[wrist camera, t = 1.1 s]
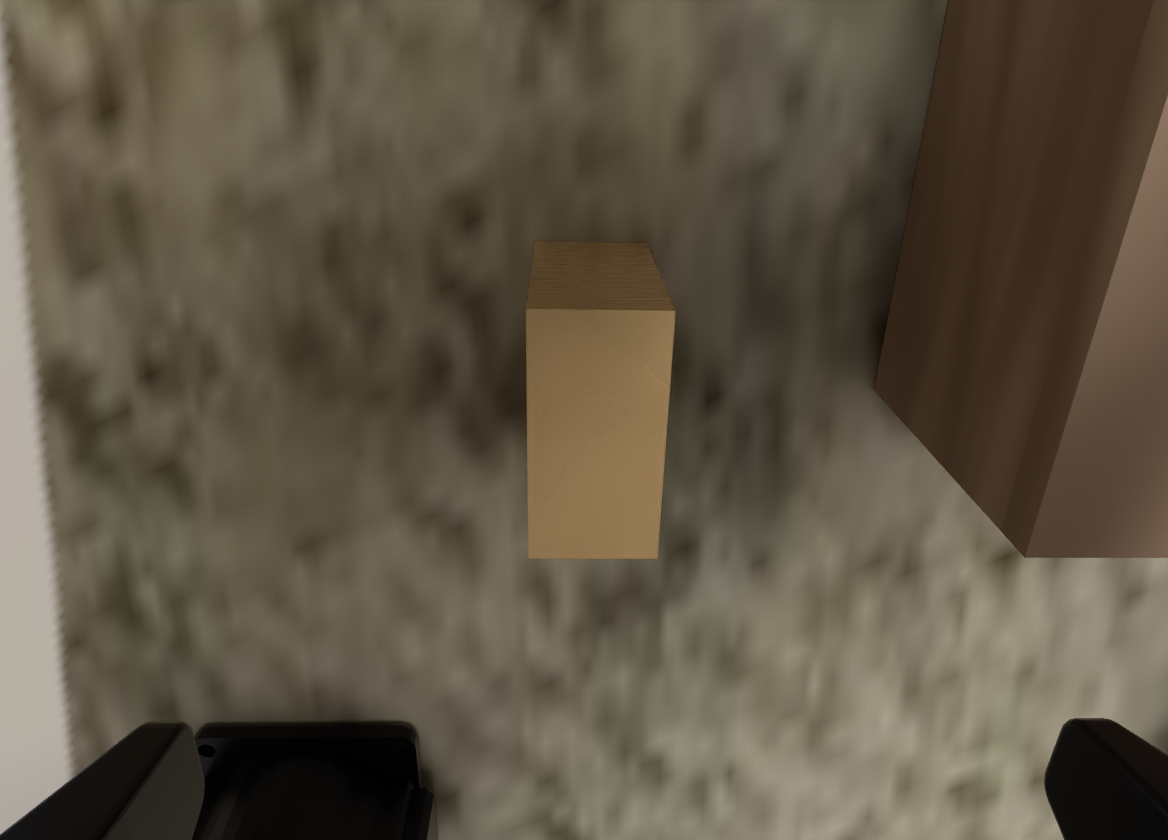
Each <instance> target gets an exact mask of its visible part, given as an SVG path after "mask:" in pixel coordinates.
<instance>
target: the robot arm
mask: <svg viewBox="0 0 1168 840" xmlns="http://www.w3.org/2000/svg"><path fill="white" fill-rule="evenodd" d="M396 743H401V744H404V745H398V744H396ZM209 745H211V746H209ZM1044 783H1045V791H1046V795H1047V798H1048V801H1049V804H1050V806H1051V809H1052V811H1053V813H1054V816H1055V818H1056V821H1057V823H1058V826H1059V828H1060V830H1061V833H1062V835H1063V838H1064V840H1168V755H1167V754H1165V753H1163V752H1162V751H1160V750H1159V749H1157V748H1156V747H1154V746H1152V745H1151V744H1149V743H1148V742H1146V741H1145V740H1143V739H1142V738H1140V737H1138V736H1137V735H1135V734H1134V733H1132V732H1131V731H1129V730H1127V729H1126V728H1124V727H1123V726H1121V725H1120V724H1118V723H1116V722H1114V721H1112V720H1109V719H1104V718H1074V719H1070V720H1068V721H1067V722H1066V723H1065V724H1064V725H1063V727H1062V729H1061V731H1060V734H1059V737H1058V739H1057V742H1056V745H1055V747H1054V750H1053V753H1052V755H1051V758H1050V761H1049V763H1048V766H1047V768H1046V772H1045V779H1044ZM0 840H438V830H437V818H436V806H435V794H434V793H433V792H432V791H431V789H430V788H429V787H423V786H422V775H421V764H420V753H419V742H418V737H417V734H416V733H415V732H414V731H413V730H412V729H410V728H407V727H402V726H353V727H209V728H203V729H201V730H199V731H198V732H197V733H196V735H195V737H194V734H193V731H192V729H191V727H190V726H189V725H188V724H187V723H184V722H148V723H145V724H143V725H141V726H139V727H138V728H136V729H135V730H133V731H132V732H131V733H130V734H128V735H127V736H126V737H125V738H123V739H122V740H121V741H119V742H118V743H117V744H116V745H114V746H113V747H112V748H110V749H109V750H108V751H107V752H105V753H104V754H103V755H101V756H100V757H99V758H98V759H96V760H95V761H94V762H93V763H91V764H90V765H89V766H87V767H86V768H85V769H84V770H82V771H81V772H80V773H78V774H77V775H76V776H75V777H73V778H72V779H71V780H69V781H68V782H67V783H66V784H64V785H63V786H62V787H61V788H59V789H58V790H57V791H55V792H54V793H53V794H52V795H50V796H49V797H48V798H46V799H45V800H44V801H43V802H41V803H40V804H39V805H37V806H36V807H35V808H34V809H33V810H31V811H30V812H29V813H27V814H26V815H25V816H23V817H22V818H21V819H20V820H18V821H17V822H16V823H14V824H13V825H12V826H11V827H9V828H8V829H7V830H5V831H4V832H3V833H2V834H1V835H0Z"/></svg>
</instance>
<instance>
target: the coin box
mask: <svg viewBox="0 0 1168 840" xmlns="http://www.w3.org/2000/svg"><path fill="white" fill-rule="evenodd" d="M874 390H875V392H876V393H877V394H878V395H879V396H880V397H881V398H882V399H883V400H884V402H885V403H886V404H887V405H888V406H889V407H890V408H891V409H892V410H893V412H894V413H895V414H896V415H897V416H898V417H899V418H900V419H901V420H902V422H903V423H904V424H905V425H906V426H907V427H908V428H909V429H910V430H911V432H912V433H913V434H914V435H915V436H916V437H917V438H918V439H919V440H920V442H921V443H922V444H923V445H924V446H925V447H926V448H927V449H928V450H929V452H930V453H931V454H932V455H933V456H934V457H935V458H936V459H937V460H938V462H939V463H940V464H941V465H942V466H943V467H944V468H945V469H946V470H947V472H948V473H949V474H950V475H951V476H952V477H953V478H954V479H955V480H956V482H957V483H958V484H959V485H960V486H961V487H962V488H963V489H964V491H965V492H966V493H967V494H968V495H969V496H970V497H971V498H972V499H973V501H974V502H975V503H976V504H977V505H978V506H979V507H980V508H981V509H982V511H983V512H984V513H985V514H986V515H987V516H988V517H989V518H990V519H991V521H992V522H993V523H994V524H995V525H996V526H997V527H998V528H999V529H1000V531H1001V532H1002V533H1003V534H1004V535H1005V536H1006V537H1007V538H1008V539H1009V541H1010V542H1011V543H1012V544H1013V545H1014V546H1015V547H1016V548H1017V549H1018V551H1019V552H1020V553H1021V554H1022V555H1023V556H1024V557H1042V558H1168V0H949V2H948V7H947V13H946V18H945V23H944V28H943V33H942V39H941V44H940V49H939V54H938V60H937V65H936V70H935V75H934V80H933V86H932V91H931V96H930V101H929V106H928V112H927V117H926V122H925V127H924V133H923V138H922V143H921V148H920V153H919V159H918V164H917V169H916V174H915V179H914V185H913V190H912V195H911V200H910V205H909V211H908V216H907V221H906V226H905V232H904V237H903V242H902V247H901V252H900V258H899V263H898V268H897V273H896V278H895V284H894V289H893V294H892V299H891V305H890V310H889V315H888V320H887V325H886V331H885V336H884V341H883V346H882V351H881V357H880V362H879V367H878V372H877V377H876V383H875V388H874Z"/></svg>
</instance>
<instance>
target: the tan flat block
mask: <svg viewBox="0 0 1168 840" xmlns="http://www.w3.org/2000/svg"><path fill="white" fill-rule="evenodd" d="M675 313H676V310H675V308H674V306H673V303H672V301H671V299H670V296H669V294H668V292H667V289H666V287H665V285H664V282H663V280H662V277H661V275H660V273H659V270H658V268H657V266H656V263H655V261H654V259H653V256H652V254H651V252H650V249H649V247H648V244H647V243H634V242H568V241H534V249H533V257H532V265H531V273H530V281H529V288H528V296H527V304H526V372H527V478H528V559H657V558H658V544H659V531H660V517H661V504H662V490H663V476H664V463H665V449H666V435H667V422H668V408H669V395H670V381H671V367H672V354H673V340H674V327H675Z"/></svg>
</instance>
